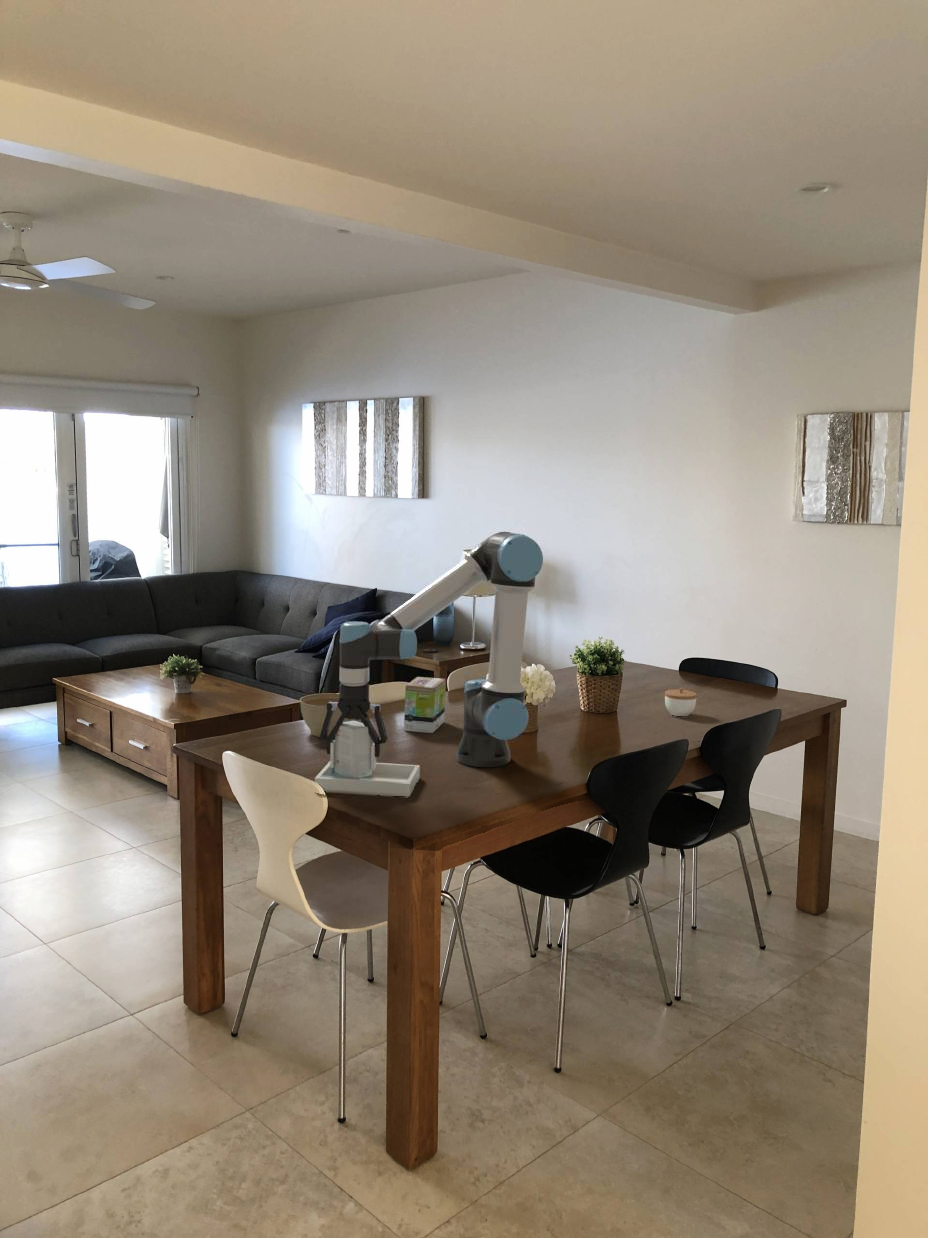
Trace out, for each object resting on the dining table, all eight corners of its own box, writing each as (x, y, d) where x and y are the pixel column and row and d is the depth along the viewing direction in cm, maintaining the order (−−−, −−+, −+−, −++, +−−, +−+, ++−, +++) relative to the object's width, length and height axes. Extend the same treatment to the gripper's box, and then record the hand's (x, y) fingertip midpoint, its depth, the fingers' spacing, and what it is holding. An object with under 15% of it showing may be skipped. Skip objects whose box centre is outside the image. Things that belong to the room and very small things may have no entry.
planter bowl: (289, 732, 301) (289, 698, 300) (331, 724, 312) (332, 691, 311) (320, 744, 290) (320, 708, 288) (363, 734, 301) (364, 700, 300)
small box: (372, 775, 253) (373, 726, 251) (352, 780, 248) (353, 730, 247) (353, 768, 259) (354, 719, 257) (333, 772, 254) (334, 723, 252)
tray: (419, 778, 260) (419, 765, 259) (409, 797, 244) (409, 784, 244) (330, 772, 263) (330, 760, 262) (314, 791, 247) (314, 778, 246)
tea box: (434, 734, 305) (435, 687, 302) (403, 731, 306) (403, 684, 304) (445, 722, 319) (446, 677, 317) (415, 720, 321) (415, 675, 319)
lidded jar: (701, 717, 334) (703, 690, 333) (675, 719, 330) (676, 692, 329) (683, 710, 344) (685, 684, 342) (657, 712, 340) (659, 685, 339)
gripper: (400, 682, 252) (399, 766, 256) (314, 677, 255) (314, 760, 258) (395, 688, 245) (393, 774, 248) (307, 683, 248) (306, 769, 251)
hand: (353, 767), depth 253 cm, fingers closed on small box, 10 cm apart
